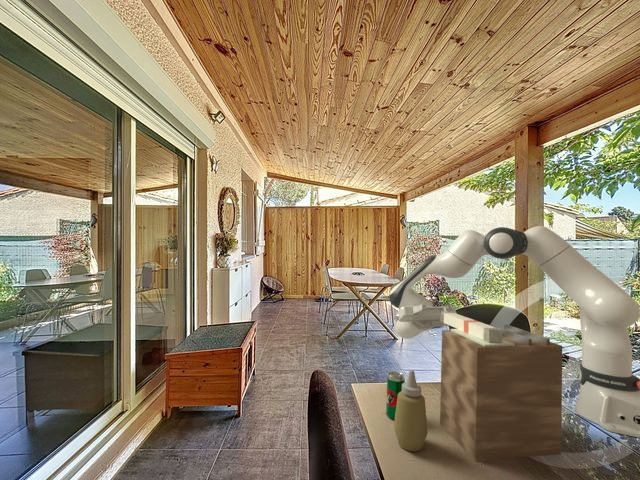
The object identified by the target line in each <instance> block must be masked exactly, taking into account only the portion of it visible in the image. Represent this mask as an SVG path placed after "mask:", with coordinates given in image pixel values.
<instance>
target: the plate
mask: <svg viewBox="0 0 640 480" xmlns="http://www.w3.org/2000/svg"><path fill="white" fill-rule="evenodd" d="M450 330H451V331H453V332H455V333H457V334H459V335H461V336H464V337H466V338H468V339H470V340H472V341H474V342H476V343H479V344H481V345H483V346H515V344H513V343H511V342H508V341H506V340H503V339H502V342H487V341H485V340H482V339H480V338H478V337H475V336H473V335H471V334H468V333H466V332H464V331H461V330H459V329H457V328H450Z"/></svg>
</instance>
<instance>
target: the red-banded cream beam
mask: <svg viewBox="0 0 640 480" xmlns="http://www.w3.org/2000/svg"><path fill="white" fill-rule="evenodd" d="M456 313H457V312H456ZM456 313H453V312H440V321H441V322H443V323H445V324H444V325H447V326H450V327H451V328H452V327H453V328H454V329H459V330H461V331H464V332H466V333H468V334H471V335H473V336H475V337H478V338H480V339H482V340H485V341H487V342H502V330H501V329H498V328H495V327H493V326H490V325H491V324H486V323H484V322H482V321H479V320H476V319H473V318H470V317H466V316H464V315H461V314H458V313H457V314H456Z"/></svg>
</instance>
